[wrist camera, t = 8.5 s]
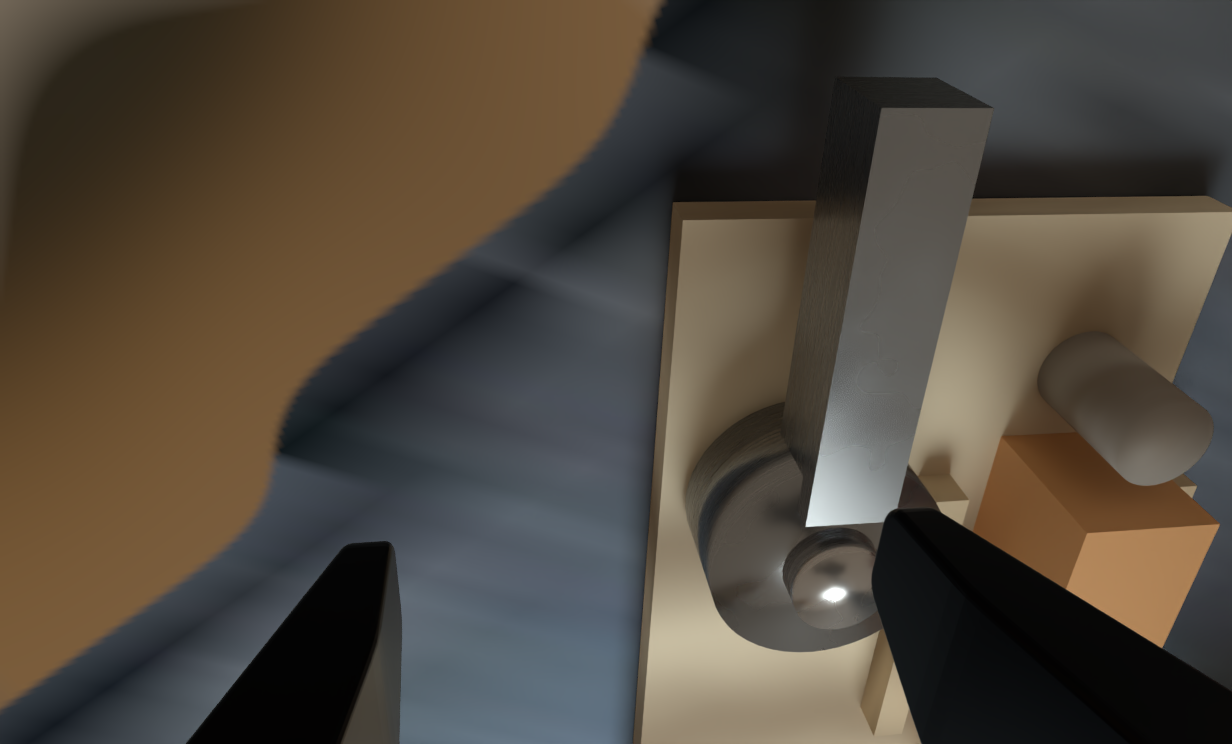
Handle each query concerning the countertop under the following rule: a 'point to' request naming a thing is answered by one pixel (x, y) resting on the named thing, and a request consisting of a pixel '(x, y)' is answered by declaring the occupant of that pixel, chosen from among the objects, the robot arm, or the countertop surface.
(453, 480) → the countertop surface
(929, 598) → the robot arm
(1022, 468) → the orange rectangular bar
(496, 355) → the countertop surface
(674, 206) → the tool board
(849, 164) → the crank handle
